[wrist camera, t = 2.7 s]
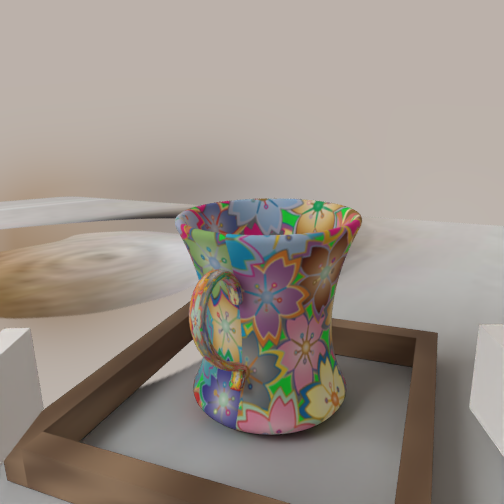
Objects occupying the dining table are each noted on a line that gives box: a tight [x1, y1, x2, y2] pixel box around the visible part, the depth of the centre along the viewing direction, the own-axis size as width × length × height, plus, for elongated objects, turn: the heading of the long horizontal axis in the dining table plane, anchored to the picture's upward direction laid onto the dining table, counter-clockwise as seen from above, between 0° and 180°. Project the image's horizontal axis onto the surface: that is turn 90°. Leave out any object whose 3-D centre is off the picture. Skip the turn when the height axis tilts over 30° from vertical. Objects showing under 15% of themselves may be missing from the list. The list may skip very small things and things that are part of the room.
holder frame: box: [4, 302, 438, 504], centre depth 25 cm, size 17×17×2 cm
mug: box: [175, 199, 362, 434], centre depth 24 cm, size 12×9×11 cm
